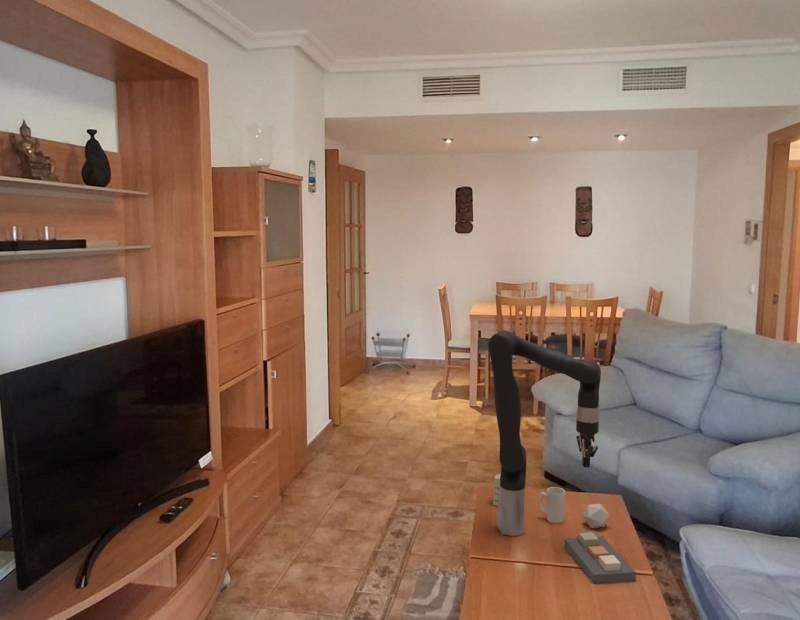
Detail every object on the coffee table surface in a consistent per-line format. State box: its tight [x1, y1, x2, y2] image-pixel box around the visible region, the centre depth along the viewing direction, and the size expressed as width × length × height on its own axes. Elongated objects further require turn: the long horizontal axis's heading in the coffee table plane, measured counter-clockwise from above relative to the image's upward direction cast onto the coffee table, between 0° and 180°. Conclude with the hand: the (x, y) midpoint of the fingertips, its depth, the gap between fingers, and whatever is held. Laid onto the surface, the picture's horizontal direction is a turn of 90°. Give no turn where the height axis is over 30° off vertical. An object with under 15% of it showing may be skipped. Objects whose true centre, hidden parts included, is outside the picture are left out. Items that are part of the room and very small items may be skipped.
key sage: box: [578, 531, 598, 547], centre depth 212 cm, size 5×5×4 cm
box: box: [492, 473, 501, 507], centre depth 250 cm, size 10×6×12 cm, turn 65°
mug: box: [537, 486, 566, 524], centre depth 236 cm, size 10×7×12 cm, turn 80°
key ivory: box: [598, 555, 621, 572], centre depth 197 cm, size 5×5×4 cm
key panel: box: [563, 535, 637, 585], centre depth 205 cm, size 14×24×3 cm, turn 7°
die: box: [582, 503, 610, 529], centre depth 231 cm, size 8×9×10 cm
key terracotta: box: [588, 546, 609, 559], centre depth 205 cm, size 5×5×4 cm
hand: (585, 466), depth 214 cm, fingers closed
